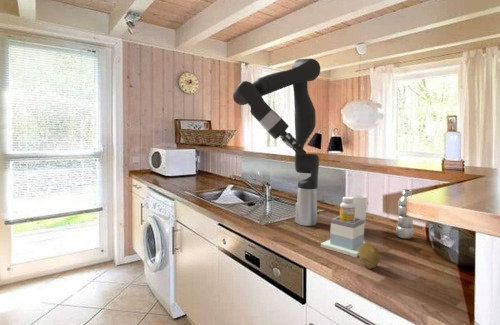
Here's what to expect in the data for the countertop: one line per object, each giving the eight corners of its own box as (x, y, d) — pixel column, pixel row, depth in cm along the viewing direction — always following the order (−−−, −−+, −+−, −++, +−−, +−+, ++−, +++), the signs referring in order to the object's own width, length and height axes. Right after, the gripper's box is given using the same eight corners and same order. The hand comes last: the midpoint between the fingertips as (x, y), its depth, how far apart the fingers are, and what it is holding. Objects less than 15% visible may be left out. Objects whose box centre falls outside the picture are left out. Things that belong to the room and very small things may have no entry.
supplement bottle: (343, 220, 119) (344, 195, 119) (356, 222, 116) (357, 197, 115) (337, 223, 115) (338, 197, 114) (351, 226, 112) (352, 199, 111)
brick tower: (320, 246, 116) (321, 219, 115) (338, 237, 126) (339, 212, 125) (356, 257, 107) (357, 227, 106) (372, 246, 117) (373, 219, 116)
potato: (360, 260, 104) (361, 237, 104) (384, 266, 99) (385, 242, 99) (352, 267, 99) (353, 242, 98) (377, 274, 94) (378, 248, 93)
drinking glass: (361, 231, 134) (362, 198, 133) (347, 228, 140) (348, 195, 138) (368, 228, 139) (370, 196, 138) (355, 225, 144) (356, 193, 143)
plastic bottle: (391, 236, 129) (394, 189, 127) (403, 234, 132) (406, 188, 130) (405, 241, 123) (407, 192, 121) (416, 239, 126) (419, 191, 124)
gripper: (282, 116, 112) (313, 148, 113) (278, 118, 126) (305, 146, 128) (268, 130, 113) (298, 162, 114) (265, 131, 127) (292, 159, 128)
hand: (302, 153), depth 121 cm, fingers open, 8 cm apart
